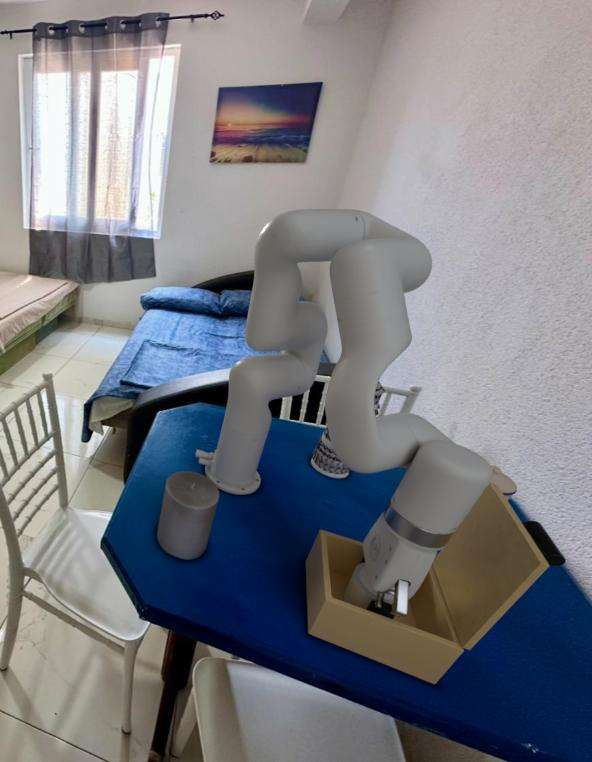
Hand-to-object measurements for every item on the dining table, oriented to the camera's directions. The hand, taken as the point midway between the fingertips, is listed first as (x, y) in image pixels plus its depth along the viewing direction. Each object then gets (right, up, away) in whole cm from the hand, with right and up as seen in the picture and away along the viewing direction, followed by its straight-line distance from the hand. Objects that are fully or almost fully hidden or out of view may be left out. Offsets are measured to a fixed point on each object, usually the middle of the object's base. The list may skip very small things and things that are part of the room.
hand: (370, 596), depth 66 cm
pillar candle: (-27, +3, +15) cm, 31 cm away
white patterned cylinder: (+15, +13, +36) cm, 41 cm away
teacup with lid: (+40, +6, +24) cm, 46 cm away
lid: (+8, +10, -9) cm, 16 cm away
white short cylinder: (+1, -3, +3) cm, 4 cm away
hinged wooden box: (0, -4, +2) cm, 5 cm away
